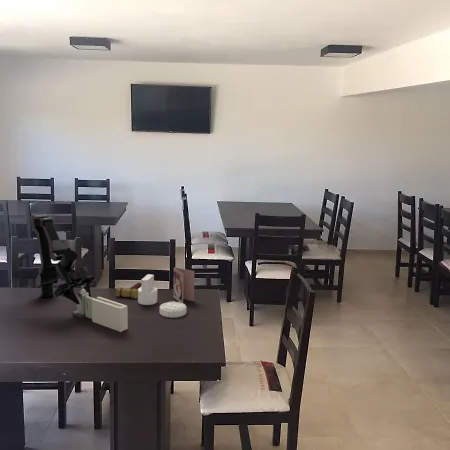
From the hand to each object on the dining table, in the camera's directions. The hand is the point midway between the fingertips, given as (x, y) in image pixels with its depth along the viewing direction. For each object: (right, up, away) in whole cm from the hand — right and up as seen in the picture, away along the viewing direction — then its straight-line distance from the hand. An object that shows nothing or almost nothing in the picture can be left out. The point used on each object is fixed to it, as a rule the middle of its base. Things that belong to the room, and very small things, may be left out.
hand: (85, 301), depth 217 cm
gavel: (+15, -1, +35) cm, 38 cm away
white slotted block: (+12, -9, -7) cm, 17 cm away
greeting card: (+40, -3, +25) cm, 48 cm away
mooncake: (+37, -7, +9) cm, 39 cm away
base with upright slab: (+24, -3, +21) cm, 32 cm away
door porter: (-2, -6, +3) cm, 7 cm away
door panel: (+5, -7, -2) cm, 9 cm away
